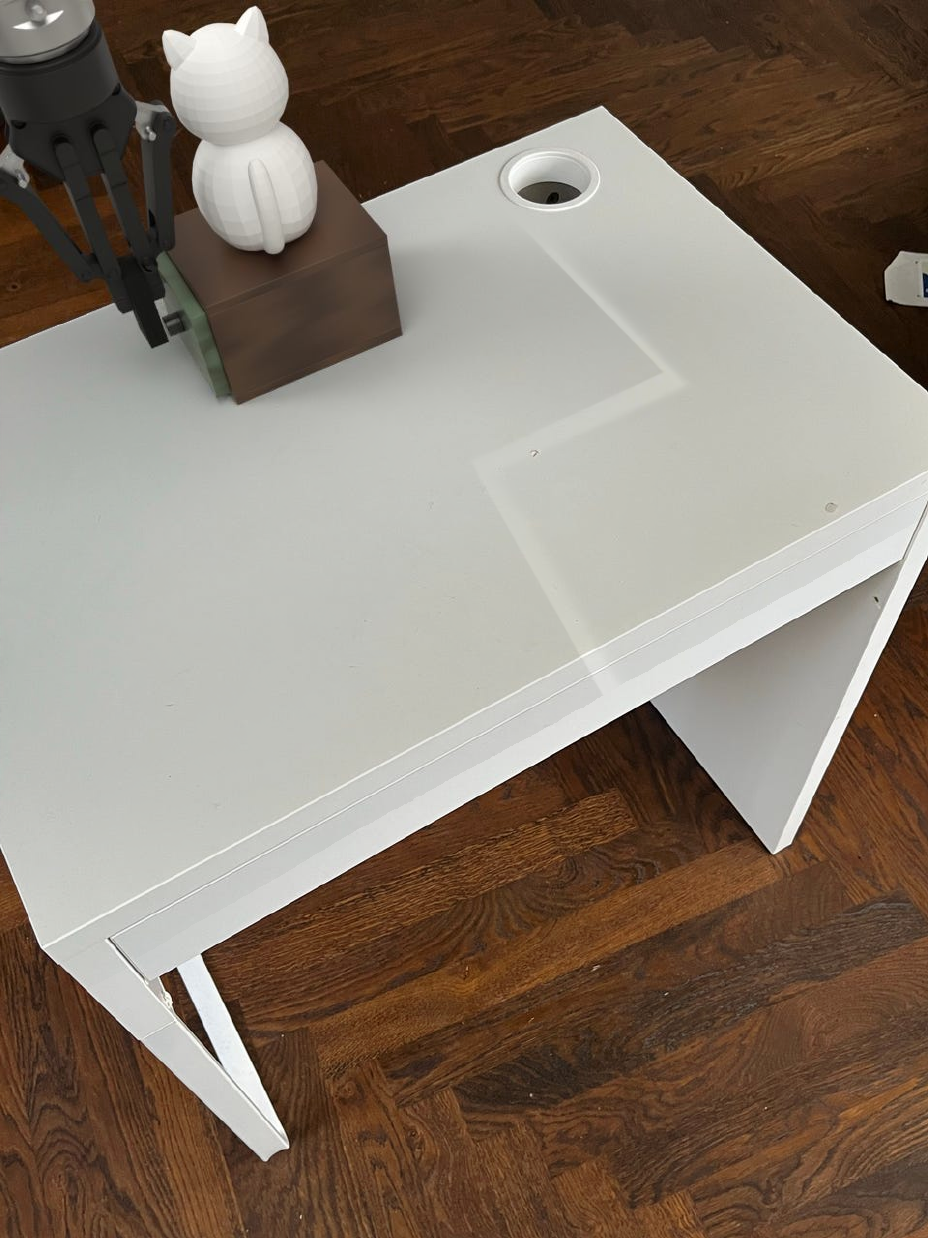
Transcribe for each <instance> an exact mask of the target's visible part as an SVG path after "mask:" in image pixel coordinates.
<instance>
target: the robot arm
mask: <svg viewBox="0 0 928 1238" xmlns="http://www.w3.org/2000/svg"><path fill="white" fill-rule="evenodd" d="M95 16H96V8H95V5H94V1H93V0H0V109H1V111H2V113H3V116H4V120H5V121H4V122H5V127H4V138H5V140H6V143H7V145H6V146H5V148H4V149H3V151H2V152H1V153H0V196H1V197H3V198H5V199H6V200H7V201H9V202H11V203H13V204H14V205H16V206H18V207H19V208H20V209H21V210H22V211H23V213H24V214H25V216H26V217H27V218H28V219H29V220H30V222H31V223H32V224H33V225H34V227H35V228H36V229H37V230H38V231H39V232H40V234H41V235H42V237H43V238H44V239H45V240H46V242H47V243H48V244H49V245H50V246H51V248H52V249H53V250H54V251H55V253H56V254H57V255H58V256H59V257H60V259H61V260H62V262H64V263H65V265H66V266H67V268H68V269H69V270H70V272H71V273H72V274H73V275H74V276H75V278H76V279H77V280H78V281H79V282H80V283H82V284H89V283H91V282H92V281H94V280H97V279H99V280H103V281H104V283H105V285H106V288H107V290H108V292H109V295H110V297H111V300H112V302H113V304H114V305H115V307H116V309H117V311H119V312H120V313H121V314H122V315H125V314H127V313H130V312H132V313H133V315H134V318H135V320H136V323H137V324H138V328H139V330H140V331H141V333H142V335H143V337H144V338H145V341H146V342H147V344H148V345H149V347H150V349H151V350H152V349H155V348H158V347H160V346H163V345H165V344H167V343H170V340H169V336H168V333H167V331H166V328H165V326H164V324H163V321H162V317H161V316H160V314H159V311H158V308H157V305H156V303H155V302H156V301H160V300H161V299H162V300H163V298H164V297H165V292H166V290H165V288H164V285H163V282H162V280H161V277H160V274H159V271H158V262H157V261H156V259H157V257H158V255H159V254H160V253H162V252H163V251H171V250H172V249H173V248H174V247H175V227H174V216H175V215H174V214H175V213H174V197H173V182H172V166H171V164H172V163H171V149H172V144H173V140H174V137H175V134H176V130H177V126H178V123H177V120H176V118H175V117H174V116H173V114H172V113H171V111H170V109H168V107H166V105H165V103H163V101H161V100H159V99H153V100H151V101H150V102H149V103H146V102H142V101H140V100H135V98H134V97H133V96H132V95H131V93H130V92H129V90H128V89H127V88H126V87H125V86H123V84H122V82H121V80H120V78H119V75H118V72H117V69H116V66H115V62H114V60H113V57H112V54H111V51H110V48H109V45H108V42H107V39H106V37H105V34H104V29H103V28H102V25H101V23H100V22H99V20H97V19H96V18H95ZM134 125H135V128H136V130H137V133H138V134H139V136H140V144H141V146H140V147H141V148H140V149H141V158H142V171H143V183H144V194H145V207H146V220H147V221H146V222H147V229H145V227H144V224H143V222H142V219H141V215H140V213H139V211H138V207H137V206H136V202H135V200H134V197H133V194H132V191H131V189H130V186H129V183H128V182H129V181H128V178H127V175H126V172H125V169H124V166H123V164H122V161H123V158H124V156H125V154H126V151H127V147H128V144H129V141H130V138H131V135H132V131H133V127H134ZM24 162H26V163H28V164H29V165H31V166H32V167H34V168H36V169H38V170H39V171H41V172H43V173H44V174H46V175H47V176H49V177H51V178H52V179H54V180H56V181H59V182H60V183H61V182H62V183H63V185H64V187H65V190H66V192H67V194H68V197H69V199H70V202H71V204H72V207H73V209H74V211H75V212H74V213H75V214H76V216H77V219H78V221H79V224H80V226H81V228H82V231H83V233H84V236H85V238H86V241H87V243H88V245H89V248H90V250H91V252H86V253H85V252H83V251H82V249H81V248H80V247H79V246H78V245H77V243H76V242H75V241H74V239H73V238H72V237H71V235H70V234H69V233H68V232H67V230H66V229H65V227H64V226H63V225H62V223H60V221H59V220H58V219H57V217H56V216H55V215H54V214H53V212H52V211H51V210H50V208H48V206H47V205H46V203H45V202H44V201H43V200H42V198H41V197H40V196H39V194H38V192H36V191H35V189H34V188H33V187H32V186H31V184H30V183H29V182H30V175H29V173H28V171H27V169H26V168H25V166H24ZM95 175H100V176H101V179H102V181H103V184H104V186H105V189H106V192H107V195H108V197H109V200H110V203H111V205H112V207H113V210H114V212H115V215H116V217H117V220H118V224H119V226H120V228H121V231H122V234H123V237H124V239H125V242H126V244H127V247H128V248H129V250H130V252H129V253H126V254H124V255H121V256H119V257H116V254H115V251H114V249H113V246H112V244H111V241H110V239H109V236H108V234H107V231H106V228H105V226H104V224H103V221H102V218H101V217H100V214H99V211H98V208H97V206H96V203H95V200H94V197H93V194H92V191H91V188H90V186H89V183H88V181H87V180H88V179H90V178H91V177H92V176H95Z"/></svg>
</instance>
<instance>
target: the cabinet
mask: <svg viewBox="0 0 928 1238" xmlns="http://www.w3.org/2000/svg"><path fill="white" fill-rule="evenodd" d="M313 165H314V169H315V174H316V180H317V207H316V212H315V215H314V218H313V221H312V223H311V226H310V227H309V229H308V230H307V231H306V232H305V233H304V234H303V235H301V236H300V237H298V238H297V239H295V240H293V241H291V242H288V243H285V245H284V248H283V250H282V251H281V252H279V253H277V254H269V253H267V252H266V251H265V250H260V251H247V250H242V249H238V248H236V247H234V246H232V245H230V244H229V243H228V242H227V241H225V240H224V239H223V238H222V237H221V236H219V235H218V234H217V233H216V232H215V231H214V230H213V229H212V227H211V226H210V225H209V224H208V222H207V221H206V219H205V218H204V216H203V214H202V213H201V211H200V209H199V206H198V207H197V206H196V207H195V208H192V209H190V210H187V211H185V212H182V213H179V214H177V215H174V227H175V247H174V248H173V249H172V250H171V251H166V253H167V254H168V256H169V257H170V259H171V260H172V262H173V264H174V265H175V267H176V268H177V270H178V271H179V273H180V275H181V276H182V278H183V279H184V281H185V282H186V284H187V285H188V287H189V289H190V290H191V292H192V293H193V295H194V296H195V298H196V299H197V301H199V303H200V305H201V306H202V308H203V309H204V311H205V314H206V317H207V320H208V323H209V326H210V329H211V332H212V335H213V338H214V341H215V344H216V347H217V350H218V353H219V356H220V359H221V362H222V365H223V368H224V371H225V374H226V377H227V380H228V383H229V386H230V389H231V393H229V394H230V396H231V398H233V401H234V402H235V404H236V405H237V406H238V405H240V404H243V403H245V402H248V401H250V400H252V399H255V398H257V397H260V396H262V395H264V394H267V393H269V392H272V391H274V390H276V389H279V388H281V387H283V386H286V385H288V384H291V383H293V382H294V381H295V382H296V381H297V380H299V379H302V378H305V377H306V376H309V375H311V374H313V373H316V372H318V371H321V370H323V369H325V368H328V367H330V366H333V365H335V364H337V363H340V362H342V361H344V360H347V359H349V358H351V357H354V356H356V355H359V354H361V353H364V352H365V351H368V350H371V349H373V348H375V347H378V346H379V345H382V344H384V343H387V342H389V341H391V340H394V339H396V338H398V337H401V336H403V328H402V323H401V322H402V321H401V316H400V310H399V303H398V298H397V297H398V296H397V292H396V291H397V290H396V285H395V284H396V283H395V278H394V272H393V265H392V260H391V253H390V248H389V240H388V234H386V232H385V231H384V230H383V229H382V228H381V226H380V225H379V224H378V223H377V222H376V221H375V219H374V218H373V217H372V216H371V215H370V213H369V212H368V211H367V210H366V209H365V207H364V206H363V205H362V204H361V203H360V202H359V201H358V199H357V197H355V196H354V194H353V193H352V192H351V191H350V190H349V189H348V188H347V186H346V185H345V184H344V183H343V181H342V180H341V179H340V178H339V177H338V176H337V175H336V173H335V172H334V171H333V170H332V169H331V168H330V165H328V164H327V162H326V161H325V160H324V159H321V160H319V161H316V162H313Z"/></svg>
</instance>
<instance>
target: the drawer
mask: <svg viewBox="0 0 928 1238" xmlns="http://www.w3.org/2000/svg"><path fill="white" fill-rule="evenodd" d="M156 261H157V262H158V271H159V274H160V277H161V280H162V282H163V285H164V288H165V290H166V292H165V297H164V298H162V300H163V302H164V305H165V308H166V311H167V313H168V314H166V315H164V316H161V321H162V324H163V326H164V329H165V332H166V333H167V335H168V337H170V338H172V337H174V336H177V335H179V337H180V339H181V341H182V342H183V344H184V345H185V348H186V349H187V350H188V352H189V354H190V355H191V357H192V359H193V360H194V362H195V363H196V365H197V367H198V368H199V370H200V372H201V374H202V375H203V377H204V378H205V380H206V382H207V383H208V385H209V387H210V388H211V390H212V391H213V393H214V395H215V396H216V398H218V399H219V398H221V397H224V396H225V395H229V394H230V393H231V389H230V386H229V383H228V380H227V377H226V374H225V371H224V368H223V365H222V362H221V359H220V356H219V353H218V350H217V347H216V344H215V341H214V338H213V335H212V332H211V329H210V326H209V323H208V320H207V317H206V314H205V311H204V309H203V308H202V306H201V305H200V303H199V301H197V299H196V298H195V296H194V295H193V293H192V292H191V290H190V289H189V287H188V285H187V284H186V282H185V281H184V279H183V278H182V276H181V275H180V273H179V271H178V270H177V268H176V267H175V265H174V264H173V262H172V260H171V259H170V257H169V256H168V254H167V253H166V251H163V252H162V253H160V254H159V255H158V257H157V259H156Z"/></svg>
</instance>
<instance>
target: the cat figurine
mask: <svg viewBox="0 0 928 1238" xmlns="http://www.w3.org/2000/svg"><path fill="white" fill-rule="evenodd" d="M269 37H270V36H269V31H268V28H267V24H266V20H265V18H264V15H263V12H262V10H261V9H259V7H258V6H256V5H254V6H252V7H249V8H247V10H245V12H244V13H243V14H242V15H241V16H240V18H239V19H238V20H237V22H236V24H234V23H228V22H227V23H226V22H216V23H211V24H206V25H204V26H202V27H201V28H199V29H196V30H195V31H194V32H192V33H191V34H190V36H189V35H187V34H185V33H183V32H181V31H177V30H174V29H167V30H164V31H163V34H162V37H161V40H162V47H163V53H164V55H165V58H166V61H167V64H168V65H169V67H170V68H171V69H170V77H169V78H170V79H169V83H170V84H169V85H170V98H171V102H172V106H173V110H174V111H175V114H176V117H177V118H178V120H179V122H180V123H181V124H182V125H183V126H184V128H185V129H187V130H188V131H189V132H190V133H191V134H193V135H194V136H196V137H198V138H199V139H201V140H200V143H199V145H198V147H197V149H196V152H195V155H194V158H193V162H192V175H191V181H192V182H191V183H192V185H191V186H192V192H193V195H194V198H195V201H196V204H197V206H198V207H199V209H200V211H201V213H202V214H203V216H204V218H205V219H206V221H207V222H208V224H209V225H210V226H211V227H212V229H213V230H214V231H215V232H216V233H217V234H218V235H219V236H221V237H222V238H223V239H224V240H225V241H227V242H228V243H229V244H230V245H232V246H234V247H236V248H238V249H242V250H247V251H260V250H265V251H266V252H267V253H269V254H277V253H279V252H281V251H282V250H283V248H284V245H285V243H288V242H291V241H293V240H295V239H297V238H298V237H300V236H301V235H303V234H304V233H305V232H306V231H307V230H308V229H309V227H310V226H311V223H312V221H313V218H314V215H315V212H316V207H317V180H316V174H315V169H314V165H313V163H314V162H313V159H312V156H311V154H310V151H309V150H308V149H307V146H306V145H305V144H304V143H305V142H303V140H302V139H301V137H299V135H298V134H296V132H295V131H294V130H293V129H292V128H291V127H289V126H288V125H287V124H285V123H283V122H282V121H280V120H281V118H282V116H283V115H284V113H285V111H286V107H287V103H288V101H289V97H290V94H289V93H290V91H289V90H290V89H289V78H288V76H287V73H286V69H285V67H284V65H283V63H282V61H281V60H280V58H279V56H278V53H276V51H275V50H274V48H273V47H272V46H271V44H270V39H269Z"/></svg>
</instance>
